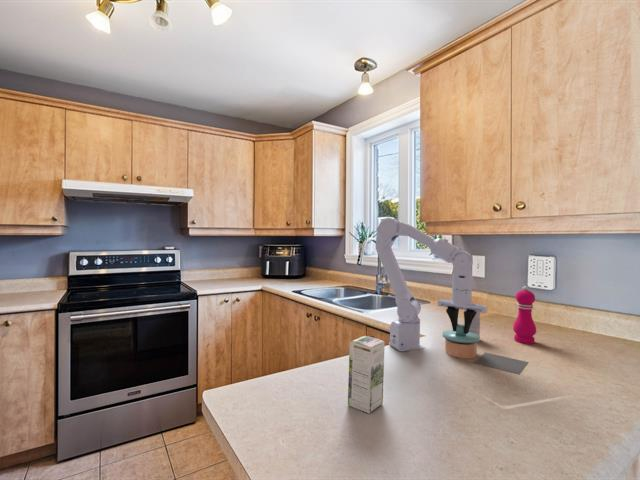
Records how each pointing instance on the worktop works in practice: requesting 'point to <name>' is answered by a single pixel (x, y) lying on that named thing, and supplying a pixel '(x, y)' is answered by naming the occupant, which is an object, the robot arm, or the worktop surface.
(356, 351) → the syrup box
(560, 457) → the worktop surface
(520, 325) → the pepper mill
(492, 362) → the mat
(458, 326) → the cover
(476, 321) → the energy drink
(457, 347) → the bowl
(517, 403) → the worktop surface
